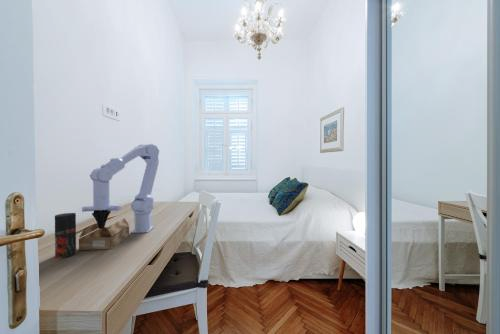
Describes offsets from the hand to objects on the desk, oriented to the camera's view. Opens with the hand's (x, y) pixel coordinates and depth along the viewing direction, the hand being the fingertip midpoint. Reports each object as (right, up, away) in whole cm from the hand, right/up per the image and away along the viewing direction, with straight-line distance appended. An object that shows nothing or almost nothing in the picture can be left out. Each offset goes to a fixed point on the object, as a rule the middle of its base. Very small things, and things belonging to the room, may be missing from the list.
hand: (101, 227), depth 94 cm
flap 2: (+8, -1, +1) cm, 8 cm away
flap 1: (-4, -1, 0) cm, 4 cm away
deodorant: (-5, -7, -13) cm, 15 cm away
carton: (+2, -6, 0) cm, 7 cm away
